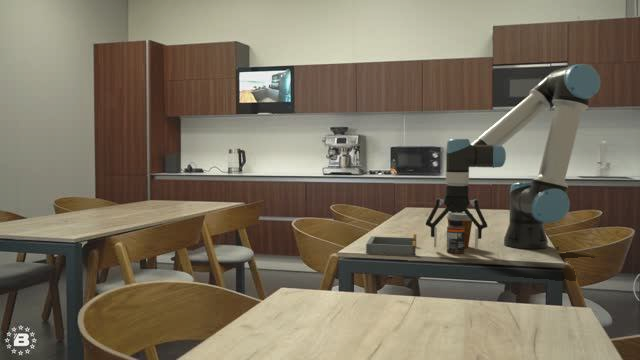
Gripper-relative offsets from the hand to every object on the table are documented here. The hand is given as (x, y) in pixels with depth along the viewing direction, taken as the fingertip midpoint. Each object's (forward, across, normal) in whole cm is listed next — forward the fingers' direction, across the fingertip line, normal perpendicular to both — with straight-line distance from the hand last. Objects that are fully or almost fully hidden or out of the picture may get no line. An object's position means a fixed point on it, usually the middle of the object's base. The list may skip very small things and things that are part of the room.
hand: (455, 247), depth 198 cm
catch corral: (+2, +21, -1) cm, 21 cm away
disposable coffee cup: (+2, -2, -13) cm, 13 cm away
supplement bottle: (+2, 0, 0) cm, 2 cm away
